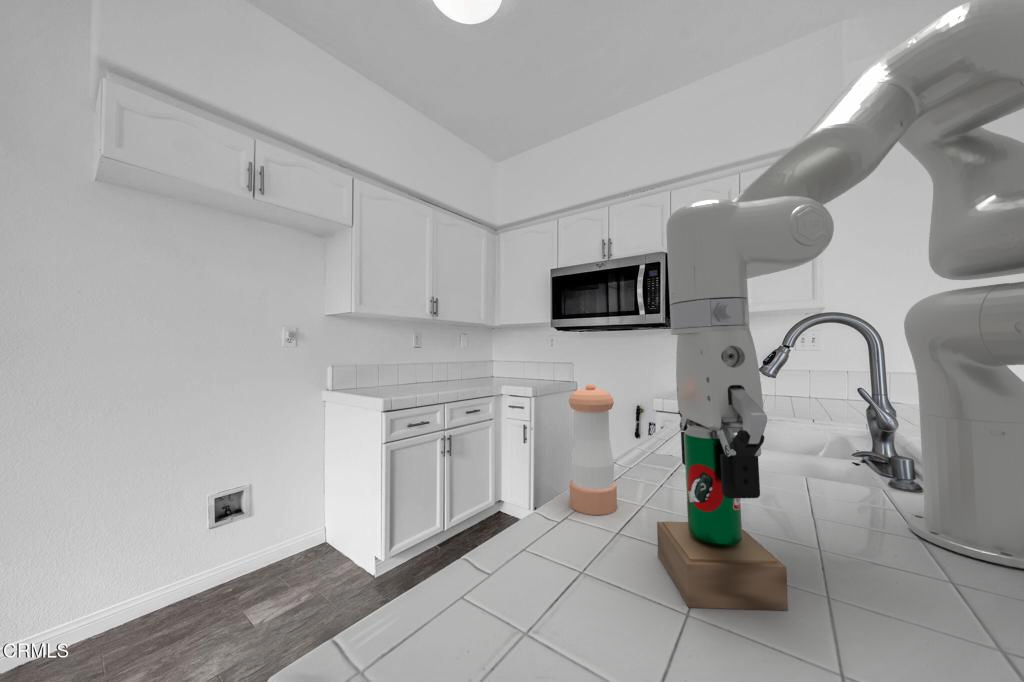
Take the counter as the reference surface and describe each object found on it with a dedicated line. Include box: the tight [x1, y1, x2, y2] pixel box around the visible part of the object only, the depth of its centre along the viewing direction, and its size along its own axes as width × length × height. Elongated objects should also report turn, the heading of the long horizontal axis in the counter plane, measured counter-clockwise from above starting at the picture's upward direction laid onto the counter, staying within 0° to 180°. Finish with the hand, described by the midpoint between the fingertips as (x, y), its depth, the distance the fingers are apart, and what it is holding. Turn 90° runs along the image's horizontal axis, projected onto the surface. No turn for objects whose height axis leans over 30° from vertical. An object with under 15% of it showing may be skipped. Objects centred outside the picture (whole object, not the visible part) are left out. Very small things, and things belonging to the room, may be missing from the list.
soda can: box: [683, 422, 743, 548], centre depth 40 cm, size 5×5×12 cm
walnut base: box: [656, 521, 789, 611], centre depth 40 cm, size 9×9×4 cm
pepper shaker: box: [568, 383, 618, 516], centre depth 59 cm, size 7×7×19 cm
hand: (716, 479), depth 40 cm, fingers open, 9 cm apart
